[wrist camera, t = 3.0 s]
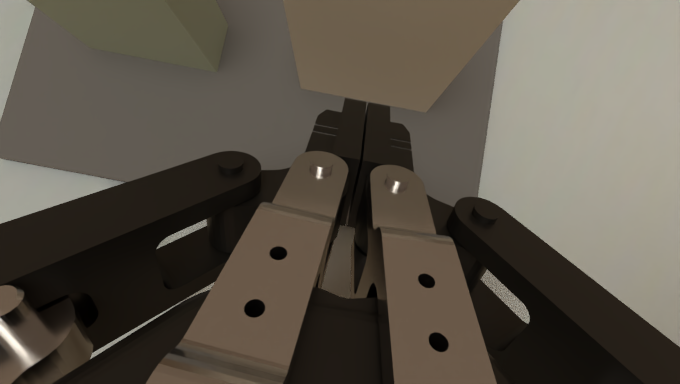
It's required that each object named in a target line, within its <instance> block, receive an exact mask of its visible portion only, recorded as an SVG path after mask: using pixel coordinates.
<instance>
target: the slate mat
mask: <svg viewBox="0 0 680 384" xmlns="http://www.w3.org/2000/svg"><path fill="white" fill-rule="evenodd" d="M216 2H217V4H218V6H219V8H220V10H221V12H222V14H223V16H224V18H225V20H226V22H227V24H228V28H227V32H226V37H225V41H224V45H223V49H222V53H221V58H220V62H219V66H218V70H217V72H212V71H207V70H202V69H196V68H191V67H186V66H181V65H176V64H170V63H165V62H160V61H155V60H150V59H145V58H139V57H134V56H129V55H124V54H119V53H113V52H108V51H103V50H98V49H93V48H90V47H88V46H87V45H86V44H84V43H83V42H82V41H80V40H79V39H78V38H76V37H75V36H74V35H72V34H71V33H70V32H68V31H67V30H66V29H64V28H63V27H62V26H60V25H59V24H58V23H56V22H55V21H54V20H52V19H51V18H50V17H48V16H47V15H46V14H44V13H43V12H42V11H41V10H39V9H38V8H37V7H35V10H34V13H33V16H32V20H31V23H30V26H29V29H28V33H27V36H26V39H25V43H24V46H23V49H22V53H21V56H20V59H19V62H18V66H17V69H16V72H15V76H14V79H13V82H12V85H11V89H10V92H9V95H8V99H7V102H6V105H5V109H4V112H3V115H2V118H1V122H0V158H2V159H7V160H13V161H18V162H23V163H29V164H34V165H39V166H44V167H50V168H55V169H60V170H66V171H71V172H76V173H82V174H87V175H92V176H98V177H103V178H108V179H114V180H119V181H124V182H129V181H132V180H135V179H138V178H141V177H145V176H148V175H151V174H154V173H157V172H160V171H163V170H166V169H169V168H172V167H175V166H178V165H181V164H184V163H187V162H190V161H193V160H196V159H199V158H202V157H205V156H208V155H211V154H214V153H218V152H223V151H239V152H244V153H247V154H250V155H252V156H253V157H255V158H256V159H257V160H258V161H259V162H260V164H261V170H280V169H286V168H290V167H291V166H292V164H293V162H294V160H295V159H296V158H297V157H298V156H299V155H301V154H303V153H305V151H306V148H307V145H308V142H309V139H310V136H311V133H312V131H313V128H314V125H315V122H316V119H317V116H318V115H319V114H321V113H322V112H324V111H325V110H332V111H338V112H342V109H343V105H344V100H345V98H347V97H342V96H337V95H332V94H326V93H321V92H316V91H311V90H306V89H301V87H300V82H299V77H298V72H297V67H296V62H295V57H294V52H293V47H292V42H291V37H290V32H289V27H288V23H287V18H286V13H285V8H284V3H283V0H216ZM502 23H503V21H502V22H501V23H500V25H499V26H498V27H497V28H496V29H495V31H494V32H493V33H492V34H491V35H490V36H489V38H488V39H487V40H486V41H485V42H484V44H483V45H482V46H481V47H480V48H479V50H478V51H477V52H476V53H475V54H474V56H473V57H472V58H471V59H470V60H469V62H468V63H467V64H466V65H465V66H464V68H463V69H462V70H461V71H460V72H459V74H458V75H457V76H456V77H455V78H454V80H453V81H452V82H451V83H450V84H449V86H448V87H447V88H446V89H445V90H444V92H443V93H442V94H441V95H440V96H439V98H438V99H437V100H436V101H435V102H434V103H433V105H432V106H431V107H430V108H429V109H428V111H427V112H426V113H425V112H420V111H415V110H410V109H404V108H399V107H394V106H390V122H395V123H400V124H403V125H404V126H405V127H406V129H407V130H408V131H409V132H410V139H411V151H412V158H413V167H414V173H415V174H416V175H418V176H419V177H420V178H421V180H422V181H423V184H424V187H425V191H426V194H427V195H429V196H430V197H432V198H434V199H436V200H438V201H440V202H443V203H445V204H448V205H450V206H453V207H454V206H455V204H456V202H457V201H458V200H459V199H461V198H464V197H478V190H479V183H480V176H481V170H482V163H483V156H484V149H485V142H486V135H487V128H488V121H489V114H490V107H491V100H492V93H493V86H494V79H495V72H496V65H497V58H498V51H499V44H500V37H501V30H502ZM349 99H352V98H349ZM354 100H358V99H354ZM359 101H363V100H359ZM364 102H367V103H366V109H367V105H368V101H364ZM370 103H373V102H370ZM375 104H378V103H375ZM380 105H384V104H380ZM385 106H389V105H385ZM365 114H366V112H365ZM349 209H350V206H349ZM348 217H349V211H348V215H347V219H346V223H347V224H348Z"/></svg>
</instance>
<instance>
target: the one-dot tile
mask: <svg viewBox="0 0 680 384" xmlns="http://www.w3.org/2000/svg"><path fill="white" fill-rule="evenodd" d="M27 1H29V2H30V3H31V4H33V5H34V6H35V7H37V8H38V9H39V10H41V11H42V12H43V13H44V14H46V15H47V16H48V17H50V18H51V19H52V20H54V21H55V22H56V23H58V24H59V25H60V26H62V27H63V28H64V29H66V30H67V31H68V32H70V33H71V34H72V35H74V36H75V37H76V38H78V39H79V40H80V41H82V42H83V43H84V44H86V45H87V46H88V47H90V48H93V49H98V50H103V51H108V52H113V53H119V54H124V55H129V56H134V57H139V58H145V59H150V60H155V61H160V62H165V63H170V64H176V65H181V66H186V67H191V68H196V69H202V70H207V71H212V72H217V70H218V66H219V62H220V58H221V53H222V49H223V45H224V41H225V37H226V32H227V28H228V24H227V22H226V20H225V18H224V16H223V14H222V12H221V10H220V8H219V6H218V4H217V2H216V0H27Z"/></svg>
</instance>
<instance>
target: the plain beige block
mask: <svg viewBox="0 0 680 384" xmlns="http://www.w3.org/2000/svg"><path fill="white" fill-rule="evenodd" d="M519 1H520V0H283V3H284V8H285V13H286V18H287V23H288V27H289V32H290V37H291V42H292V47H293V52H294V57H295V62H296V67H297V72H298V77H299V82H300V87H301V89H306V90H311V91H316V92H321V93H326V94H332V95H337V96H342V97H347V98H352V99H358V100H363V101H368V102H373V103H378V104H384V105H389V106H394V107H399V108H404V109H410V110H415V111H420V112H425V113H426V112H427V111H428V109H429V108H430V107H431V106H432V105H433V103H434V102H435V101H436V100H437V99H438V98H439V96H440V95H441V94H442V93H443V92H444V90H445V89H446V88H447V87H448V86H449V84H450V83H451V82H452V81H453V80H454V78H455V77H456V76H457V75H458V74H459V72H460V71H461V70H462V69H463V68H464V66H465V65H466V64H467V63H468V62H469V60H470V59H471V58H472V57H473V56H474V54H475V53H476V52H477V51H478V50H479V48H480V47H481V46H482V45H483V44H484V42H485V41H486V40H487V39H488V38H489V36H490V35H491V34H492V33H493V32H494V31H495V29H496V28H497V27H498V26H499V25H500V23H501V22H502V21H503V20H504V19H505V17H506V16H507V15H508V14H509V13H510V11H511V10H512V9H513V8H514V7H515V5H516V4H517V3H518V2H519Z"/></svg>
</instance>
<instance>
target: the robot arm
mask: <svg viewBox="0 0 680 384" xmlns="http://www.w3.org/2000/svg"><path fill="white" fill-rule="evenodd" d="M366 103H367V102H364V101H359V100H354V99H349V98H345V100H344V105H343V109H342V112H338V111H332V110H325V111H324V112H322V113H321V114H319V115H318V116H317V119H316V122H315V125H314V128H313V131H312V133H311V136H310V139H309V142H308V145H307V148H306V151H305V153H303V154H301V155H299V156H298V157H297V158H296V159H295V160H294V162H293V164H292V166H291V167H290V168H286V169H280V170H261V164H260V162H259V161H258V160H257V159H256V158H255V157H253V156H252V155H250V154H247V153H244V152H239V151H223V152H218V153H214V154H211V155H208V156H205V157H202V158H199V159H196V160H193V161H190V162H187V163H184V164H181V165H178V166H175V167H172V168H169V169H166V170H163V171H160V172H157V173H154V174H151V175H148V176H145V177H141V178H138V179H135V180H132V181H129V182H126V183H123V184H120V185H117V186H114V187H111V188H108V189H105V190H102V191H99V192H96V193H93V194H90V195H87V196H84V197H81V198H78V199H75V200H72V201H69V202H66V203H63V204H60V205H57V206H54V207H50V208H47V209H44V210H41V211H38V212H35V213H32V214H29V215H26V216H23V217H20V218H17V219H14V220H11V221H8V222H5V223H2V224H0V384H680V347H679V346H677V345H676V344H675V343H673V342H672V341H671V340H670V339H668V338H667V337H666V336H665V335H663V334H662V333H661V332H659V331H658V330H657V329H656V328H654V327H653V326H652V325H650V324H649V323H648V322H647V321H645V320H644V319H643V318H641V317H640V316H639V315H638V314H636V313H635V312H634V311H632V310H631V309H630V308H629V307H627V306H626V305H625V304H624V303H622V302H621V301H620V300H618V299H617V298H616V297H615V296H613V295H612V294H611V293H609V292H608V291H607V290H606V289H604V288H603V287H602V286H600V285H599V284H598V283H597V282H595V281H594V280H593V279H591V278H590V277H589V276H588V275H586V274H585V273H584V272H583V271H581V270H580V269H579V268H577V267H576V266H575V265H574V264H572V263H571V262H570V261H568V260H567V259H566V258H565V257H563V256H562V255H561V254H559V253H558V252H557V251H556V250H554V249H553V248H552V247H550V246H549V245H548V244H547V243H545V242H544V241H543V240H542V239H540V238H539V237H538V236H536V235H535V234H534V233H533V232H531V231H530V230H529V229H527V228H526V227H525V226H524V225H522V224H521V223H520V222H518V221H517V220H516V219H515V218H513V217H512V216H511V215H509V214H508V213H507V212H506V211H504V210H503V209H502V208H500V207H499V206H498V205H496V204H494V203H492V202H490V201H488V200H485V199H482V198H478V197H464V198H461V199H459V200H458V201H457V202H456V204H455V206H454V207H453V206H450V205H448V204H445V203H443V202H440V201H438V200H436V199H434V198H432V197H430V196H429V195H427V194H426V191H425V187H424V184H423V181H422V180H421V178H420V177H419V176H418V175H416V174H415V173H414V167H413V158H412V151H411V139H410V132H409V131H408V130H407V129H406V127H405V126H404V125H403V124H400V123H395V122H390V106H385V105H380V104H375V103H370V102H368V105H367V109H366ZM365 112H366V114H365ZM349 206H350V209H349ZM348 211H349V217H348V225H347V226H350V227H355V235H354V239H353V243H352V246H351V299H346V298H341V297H339V296H336V295H334V294H332V293H329V292H327V291H325V290H322V289H321V288H322V284H323V280H324V276H325V273H326V269H327V265H328V262H329V258H330V254H331V251H332V247H333V242H334V239H335V238H336V237H337V234H338V230H339V226H340V225H344V226H345V224H346V219H347V215H348ZM205 219H207V226H206V227H203V228H201V229H199V230H197V231H195V232H193V233H190V234H188V235H186V236H184V237H182V238H180V239H178V240H175V241H173V242H171V243H169V244H167V245H165V246H163V247H160V248H158V249H156V248H157V247H158V245H159V244H160V242H161V241H162V240H164V239H165V238H166V237H168V236H170V235H172V234H174V233H176V232H178V231H180V230H183V229H185V228H187V227H189V226H192V225H194V224H196V223H198V222H200V221H203V220H205ZM487 269H488V270H489V271H490V272H491V273H492V274H493V275H494V276H495V277H496V278H497V279H498V280H499V281H500V282H501V283H502V284H503V285H505V286H506V287H507V288H508V289H509V290H510V291H511V292H512V293H513V294H514V295H515V296H516V297H517V298H518V299H519V300H520V301H521V302H522V303H523V304H524V305H525V306H526V308H527V310H528V312H529V315H530V322H529V324H527V323H525V322H524V321H522V320H521V319H520V318H519V317H518V316H517V315H516V314H515V313H514V312H513V311H512V310H511V309H510V308H509V307H508V306H507V305H506V304H505V303H504V302H503V301H502V300H501V299H500V298H499V297H498V296H496V295H495V294H494V293H493V292H492V291H491V290H490V289H489V288H488V287H487V286H486V285H485V284H484V283H483V282H482V281H481V280H480V279H481V278H482V276H483V275H484V273H485V272H486V270H487ZM215 281H216V282H215ZM213 282H215V283H214V285H213V287H212V289H211V290H208V291H205V292H203V293H200V294H198V295H196V296H193V297H191V298H189V299H187V300H185V301H184V302H182V303H180V304H178V305H177V306H175V307H174V308H172V309H170V310H169V311H167V312H166V313H164V314H162V315H161V316H159V317H158V318H156V319H154V320H153V321H151V322H150V323H148V324H146V325H145V326H143V327H142V328H140V329H138V330H137V331H135V332H134V333H132V334H130V335H129V336H127V337H126V338H124V339H122V340H121V341H119V342H117V343H116V344H114V345H113V346H111V347H109V348H108V349H106V350H105V351H103V352H101V353H100V354H98V355H97V356H95V357H93V358H92V359H90V358H91V355H92V353H93V352H95V351H96V350H98V349H100V348H101V347H103V346H105V345H107V344H108V343H110V342H112V341H113V340H115V339H117V338H119V337H120V336H122V335H124V334H126V333H127V332H129V331H131V330H132V329H134V328H136V327H138V326H139V325H141V324H143V323H144V322H146V321H148V320H150V319H151V318H153V317H155V316H156V315H158V314H160V313H162V312H163V311H165V310H167V309H168V308H170V307H172V306H174V305H175V304H177V303H179V302H180V301H182V300H184V299H186V298H187V297H189V296H191V295H193V294H194V293H196V292H198V291H199V290H201V289H203V288H205V287H206V286H208V285H210V284H211V283H213Z"/></svg>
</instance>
